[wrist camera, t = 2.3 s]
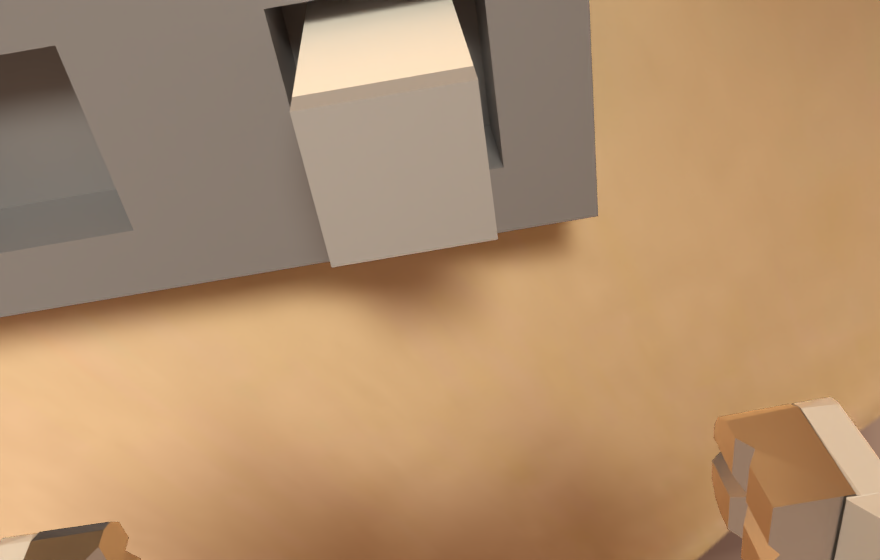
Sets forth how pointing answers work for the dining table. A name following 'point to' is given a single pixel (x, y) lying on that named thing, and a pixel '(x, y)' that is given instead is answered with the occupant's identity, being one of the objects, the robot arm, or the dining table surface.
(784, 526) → the robot arm
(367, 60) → the plug
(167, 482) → the dining table surface
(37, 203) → the power strip
